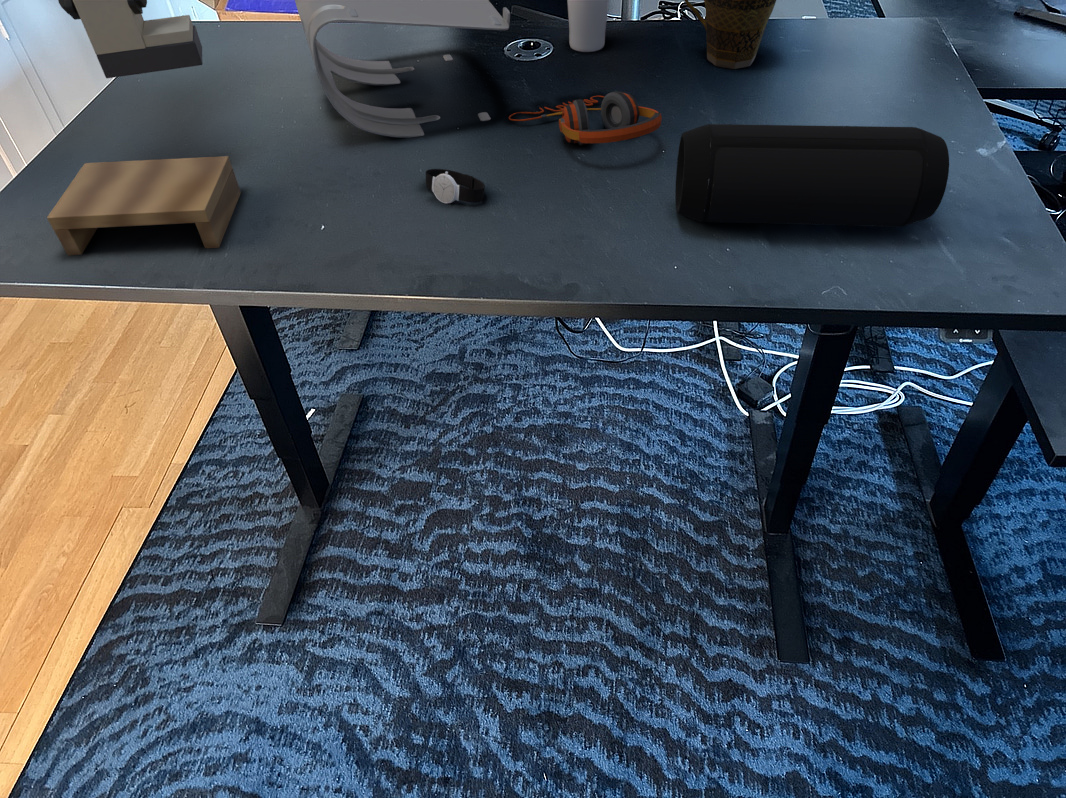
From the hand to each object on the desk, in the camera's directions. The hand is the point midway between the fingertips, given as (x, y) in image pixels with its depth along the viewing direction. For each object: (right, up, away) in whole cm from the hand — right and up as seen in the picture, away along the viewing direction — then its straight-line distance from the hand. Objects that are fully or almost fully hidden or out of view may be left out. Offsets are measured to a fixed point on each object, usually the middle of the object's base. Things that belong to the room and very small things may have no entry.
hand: (105, 12), depth 79 cm
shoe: (+2, -2, +6) cm, 7 cm away
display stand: (+2, -20, +7) cm, 22 cm away
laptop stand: (+27, +2, +27) cm, 38 cm away
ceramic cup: (+71, +10, +34) cm, 79 cm away
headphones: (+51, -6, +19) cm, 55 cm away
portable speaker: (+72, -20, +5) cm, 75 cm away
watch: (+35, -16, +10) cm, 40 cm away
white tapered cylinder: (+52, +13, +38) cm, 65 cm away
